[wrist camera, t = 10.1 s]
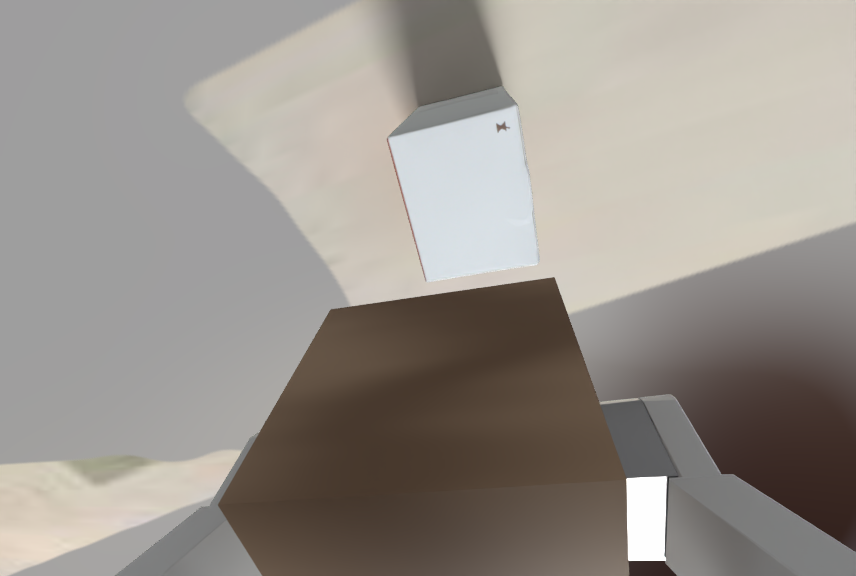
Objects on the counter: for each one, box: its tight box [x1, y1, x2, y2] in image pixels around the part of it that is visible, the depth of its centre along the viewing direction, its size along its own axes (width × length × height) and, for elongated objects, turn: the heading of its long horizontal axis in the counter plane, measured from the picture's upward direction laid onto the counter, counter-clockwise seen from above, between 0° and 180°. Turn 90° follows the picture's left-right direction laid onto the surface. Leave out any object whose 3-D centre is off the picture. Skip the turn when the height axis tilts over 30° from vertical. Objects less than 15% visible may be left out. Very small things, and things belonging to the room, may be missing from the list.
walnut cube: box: [218, 277, 629, 576], centre depth 8 cm, size 4×4×4 cm
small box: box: [387, 86, 540, 282], centre depth 27 cm, size 8×6×13 cm
